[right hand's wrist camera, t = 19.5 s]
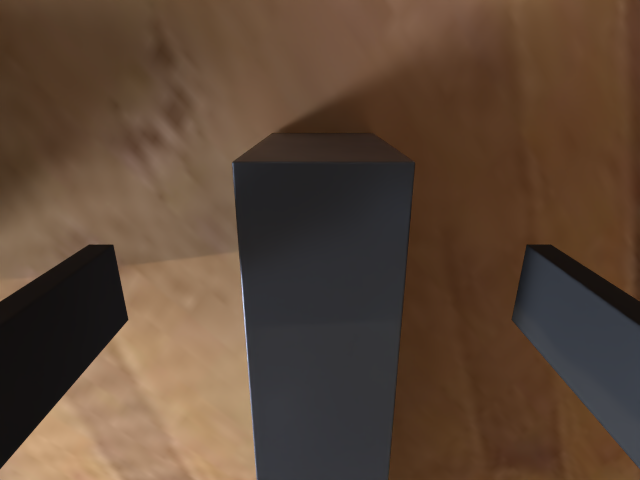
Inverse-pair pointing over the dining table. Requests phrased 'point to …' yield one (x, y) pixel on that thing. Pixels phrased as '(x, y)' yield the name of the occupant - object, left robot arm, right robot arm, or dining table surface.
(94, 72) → the dining table surface
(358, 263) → the beam
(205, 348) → the dining table surface
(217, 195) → the dining table surface
